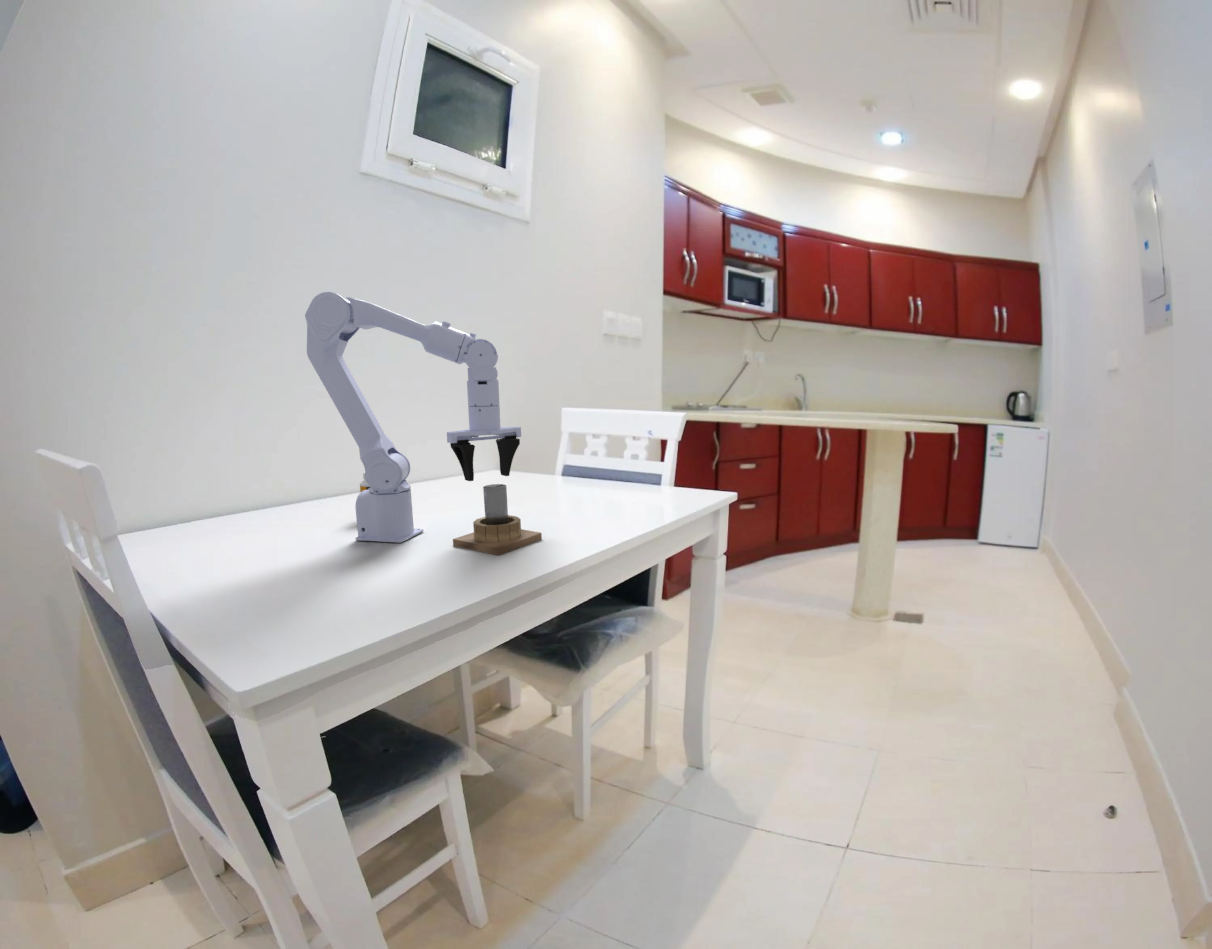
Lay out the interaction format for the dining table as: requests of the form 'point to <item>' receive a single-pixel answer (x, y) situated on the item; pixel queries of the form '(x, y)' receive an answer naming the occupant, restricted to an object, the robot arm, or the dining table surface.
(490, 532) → the socket block
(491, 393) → the robot arm
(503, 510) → the steel pin
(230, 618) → the dining table surface
